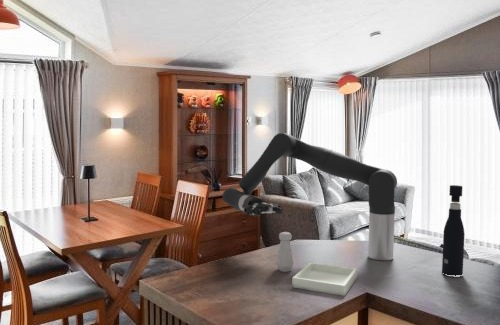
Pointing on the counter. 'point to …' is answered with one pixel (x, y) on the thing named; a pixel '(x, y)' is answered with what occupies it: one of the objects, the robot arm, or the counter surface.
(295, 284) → the tray
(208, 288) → the counter surface
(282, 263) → the salt shaker
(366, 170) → the robot arm
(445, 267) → the black bottle
